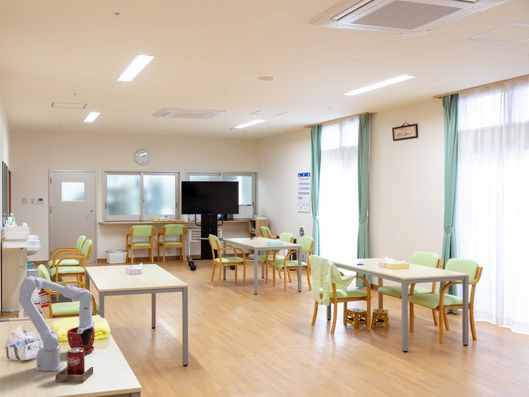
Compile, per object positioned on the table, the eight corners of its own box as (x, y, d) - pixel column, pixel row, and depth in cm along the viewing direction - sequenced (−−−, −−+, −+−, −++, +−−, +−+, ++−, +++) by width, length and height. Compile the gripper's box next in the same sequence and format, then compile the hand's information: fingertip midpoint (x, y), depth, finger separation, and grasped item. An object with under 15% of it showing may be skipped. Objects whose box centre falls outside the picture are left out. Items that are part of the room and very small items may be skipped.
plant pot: (84, 347, 287) (84, 324, 287) (100, 351, 279) (100, 328, 279) (62, 353, 276) (61, 329, 276) (78, 358, 269) (77, 333, 268)
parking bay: (55, 382, 237) (55, 375, 236) (67, 372, 248) (67, 366, 248) (82, 382, 236) (82, 375, 235) (93, 373, 247) (93, 367, 247)
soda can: (75, 380, 238) (75, 353, 238) (63, 378, 242) (63, 350, 241) (88, 375, 245) (88, 348, 244) (76, 373, 248) (76, 346, 248)
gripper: (87, 320, 251) (88, 349, 251) (99, 312, 265) (100, 340, 266) (72, 319, 251) (73, 349, 252) (85, 312, 266) (85, 340, 266)
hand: (86, 344), depth 259 cm, fingers closed
